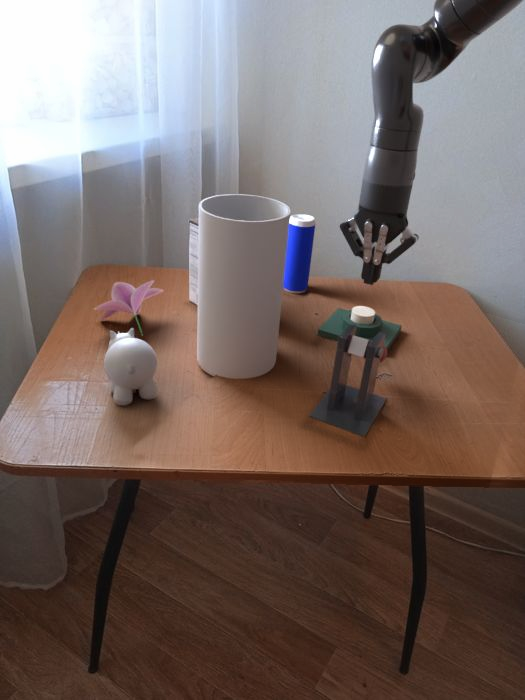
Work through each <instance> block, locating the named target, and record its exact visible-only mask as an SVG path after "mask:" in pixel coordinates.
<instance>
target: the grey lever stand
mask: <svg viewBox="0 0 525 700" xmlns="http://www.w3.org/2000/svg"><path fill="white" fill-rule="evenodd" d="M356 328H357V326H356V325H353V324H349V326H348V327H347V328H346V329H345V330H344V331H343V332H342V334H341V335H340V336H339V338H338V341H336V342H337V343H336V351H335V357H334V362H333V369H332V377H331V382H330V386H329V387H330V388H329V389H328V390H327V392H326V393H325V394H324V395H323V397H322V398H321V399H320V400H319V401H318V404H316V406H315V407H314V409H312V411H311V412H310V414H309V415H308V417H309V418H311V419H314V420H317V421H319V422H321V423H324V424H327V425H330V426H333V427H335V428H339V429H341V430H343V431H346V432H349V433H351V434H354V435H357V436H359V437H362V438H365V437H366V435H367V434H368V431H369V430H370V429H371V427H372V425H373V423H374V422H375V420H376V418H377V416H378V415H379V413H380V411H382V408H383V406H384V405H385V403H386V401H387V398H386V397H383V396H381V395H377V394H374V391H375V387H376V382H377V377H378V373H379V367H380V364H381V363H380V359H381V357H382V355H383V351H384V349H383V344H384V340H385V335H386V334H384V333H380V332H378V333H377V335H376V336H375V337H374V339H373V340H372V341H371V343H370V344H369V345H368V349H367V354H366V359H364V365H363V369H362V373H361V380H360V385H359V388H356V387H353V386H350V385H347V383H348V379H349V372H350V367H351V361H352V355H353V354H350V353H348V349H349V346H350V343H351V340H352V337H353V335H354V336H355V334H356Z"/></svg>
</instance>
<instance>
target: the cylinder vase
mask: <svg viewBox="0 0 525 700" xmlns="http://www.w3.org/2000/svg"><path fill="white" fill-rule="evenodd" d="M290 217H291V208H290V207H289V205H287V203H284V202H282V201H279V200H277V199H274V198H272V197H267V196H263V195H254V194H245V193H244V194H242V193H234V194H233V193H232V194H231V193H229V194H228V193H227V194H226V193H225V194H218V195H213V196H209V197H206V198H204V199H201V201H199V202H198V218H199V235H198V305H197V316H196V317H197V321H196V323H197V324H196V325H197V326H196V327H197V328H196V331H197V332H196V335H197V336H196V360H197V363H198V365H199V367H200V368H201V369H202V370H203V371H204V372H205V373H207V374H208V375H210V376H211V377H216V376H218V377H221V378H227V379H235V380H236V379H237V380H243V379H244V380H245V379H246V380H247V379H253V378H256V377H261V376H263V375H265V374H267V373H268V372H270V371H271V370H272V369H273V368H274V367H275V365H276V361H277V354H278V353H277V352H278V343H279V335H280V334H279V333H280V332H279V331H280V323H281V311H282V302H283V292H284V288H283V283H284V273H285V262H286V252H287V242H288V232H289V221H290Z"/></svg>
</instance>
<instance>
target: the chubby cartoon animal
mask: <svg viewBox="0 0 525 700" xmlns="http://www.w3.org/2000/svg"><path fill="white" fill-rule="evenodd" d="M109 337H110V340H109V343H108V349H107V351H106V353H105V355H104V360H103V368H104V373H105V375H106V377H107V378H108V380H109V390H110V392H111V393H113V397H112V398H113V399H112V400H113V402H114V403H115V404H117V405H118V406H127V405H129V404H131V403H132V402H133V397H134V393H137V390H138V394H139V397H140V398H141V399H143V400H152V399H154V398H156V397H157V395H158V393H159V392H158V385H157V383H156V381H155V379H154V377H155V375H156V373H157V370H158V358H157V355H156V352H155V350H154V349H153V347H152V346H151V345H150V344H149V343H147V342H146V341H145V340H142V339H140V338H137V337H135V328H134V327H131V328H130V329H129V330H128V331H127V332H120V331H119V330H118V331H117V333H116V332H115V331H114V330H110V331H109Z"/></svg>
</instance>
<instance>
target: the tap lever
mask: <svg viewBox="0 0 525 700" xmlns="http://www.w3.org/2000/svg"><path fill="white" fill-rule="evenodd" d="M370 343H371V341H370V340H367V339H364V338H361V337H357V336H354V335H353V337H352V340H351V343H350V346H349V349H348V353H350V354H352V355H353V356H356V357H359V358H363V359H364V360H365V359H366V354H367V349H368V345H369V344H370ZM383 349H384V351H383V355H382V357H381V359H380V363H379V364H381V363H383V362H384V361H385V360H386V358H387V355H388V351H387V349H386V347H385V345H384V344H383Z"/></svg>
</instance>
